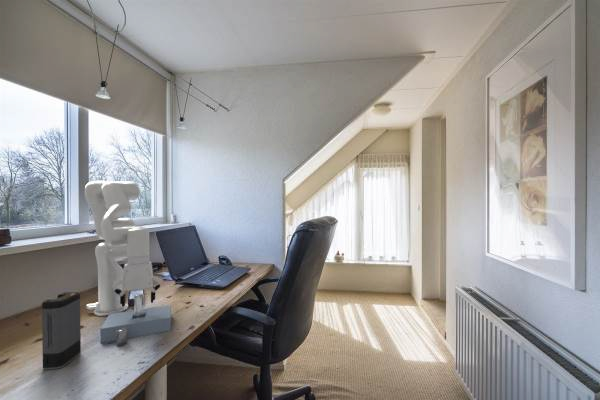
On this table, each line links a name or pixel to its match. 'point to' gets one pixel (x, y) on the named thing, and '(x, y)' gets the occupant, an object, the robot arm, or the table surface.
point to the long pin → (138, 305)
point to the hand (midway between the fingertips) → (138, 303)
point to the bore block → (136, 323)
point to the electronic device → (61, 330)
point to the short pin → (121, 337)
